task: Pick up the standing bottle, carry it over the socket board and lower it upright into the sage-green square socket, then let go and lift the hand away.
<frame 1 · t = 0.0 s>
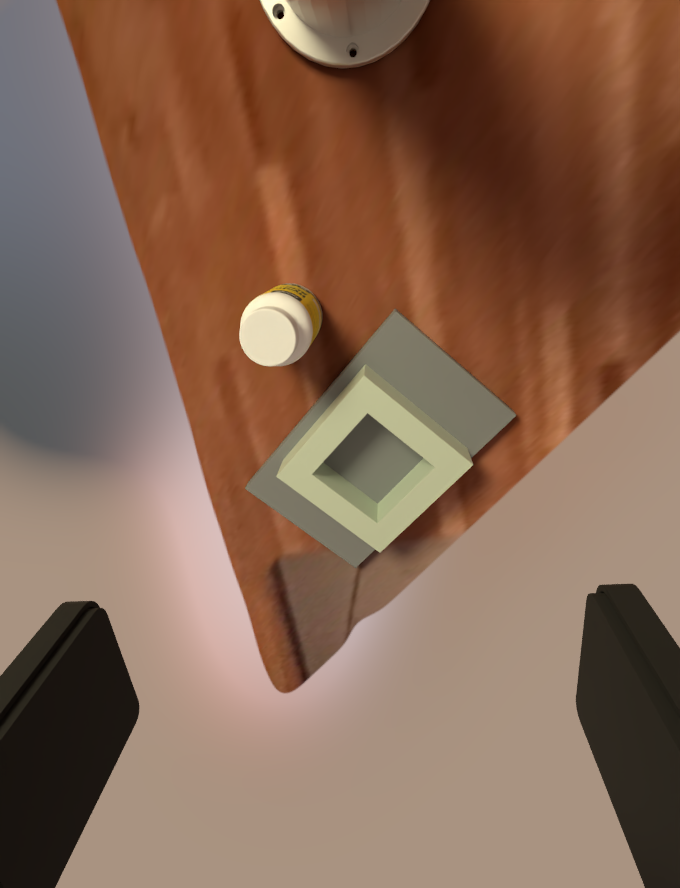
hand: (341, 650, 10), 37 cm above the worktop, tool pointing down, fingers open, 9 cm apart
supplement bottle: (292, 314, 44), on the worktop
socket board: (373, 448, 48), on the worktop
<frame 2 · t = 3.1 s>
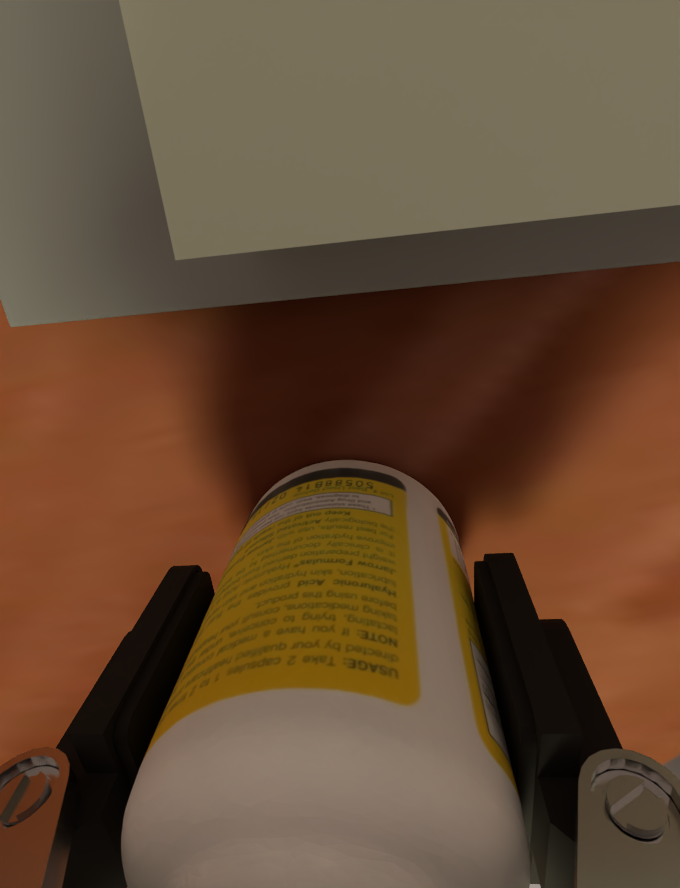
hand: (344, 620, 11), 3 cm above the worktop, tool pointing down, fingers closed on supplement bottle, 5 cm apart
supplement bottle: (351, 545, 13), on the worktop, touching gripper
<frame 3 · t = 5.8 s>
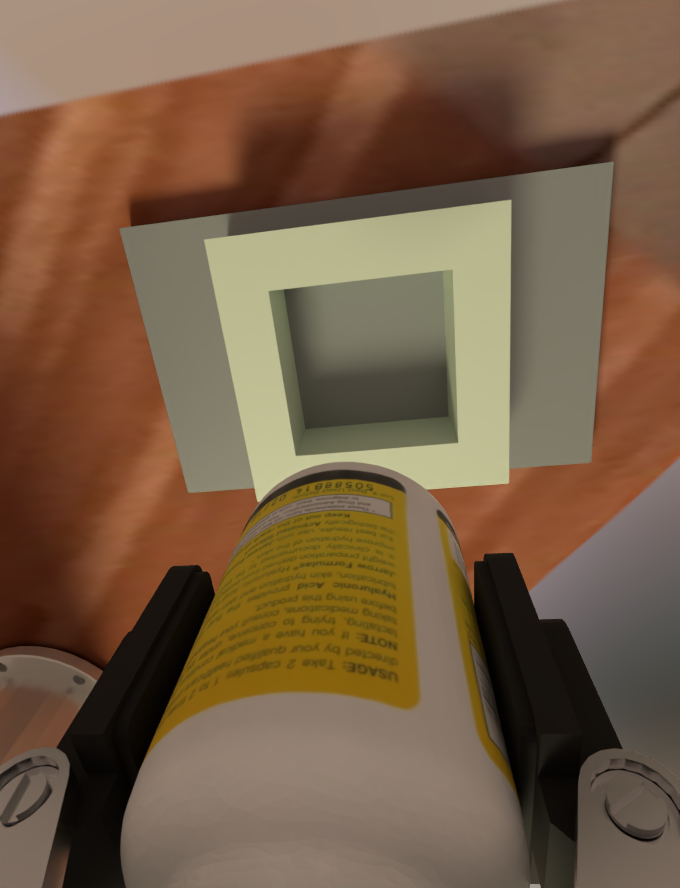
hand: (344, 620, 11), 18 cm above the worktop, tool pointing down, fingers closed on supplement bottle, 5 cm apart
supplement bottle: (351, 546, 13), point 15 cm above the worktop, touching gripper
socket board: (369, 347, 27), on the worktop
when the fingers open (6 cm above the worktop, at t = 8.6 s): supplement bottle drops 2 cm, resting on socket board.
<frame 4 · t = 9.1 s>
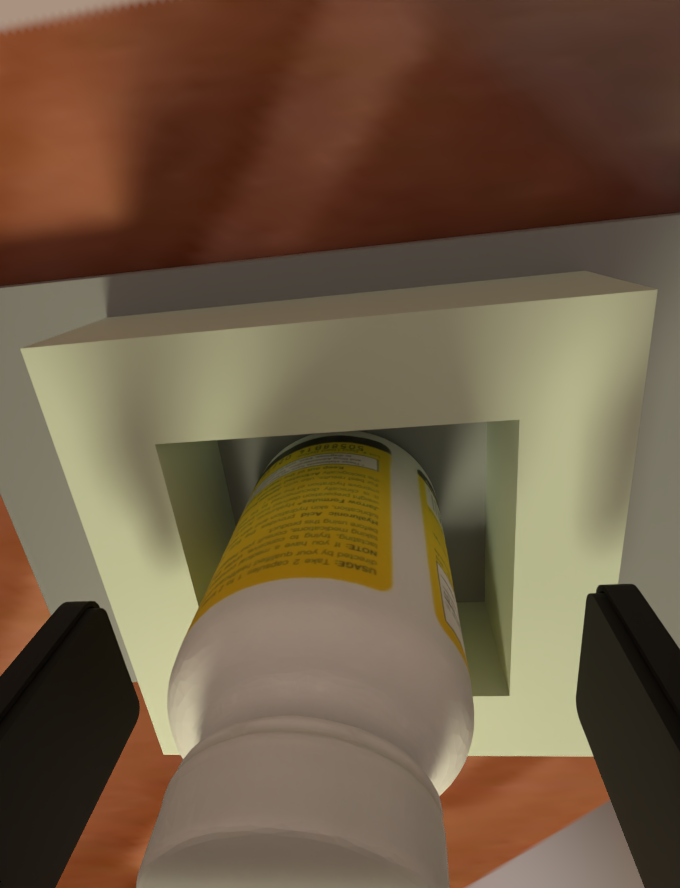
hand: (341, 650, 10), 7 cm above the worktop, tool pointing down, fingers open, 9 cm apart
supplement bottle: (346, 506, 15), point 1 cm above the worktop, touching socket board
socket board: (357, 485, 16), on the worktop
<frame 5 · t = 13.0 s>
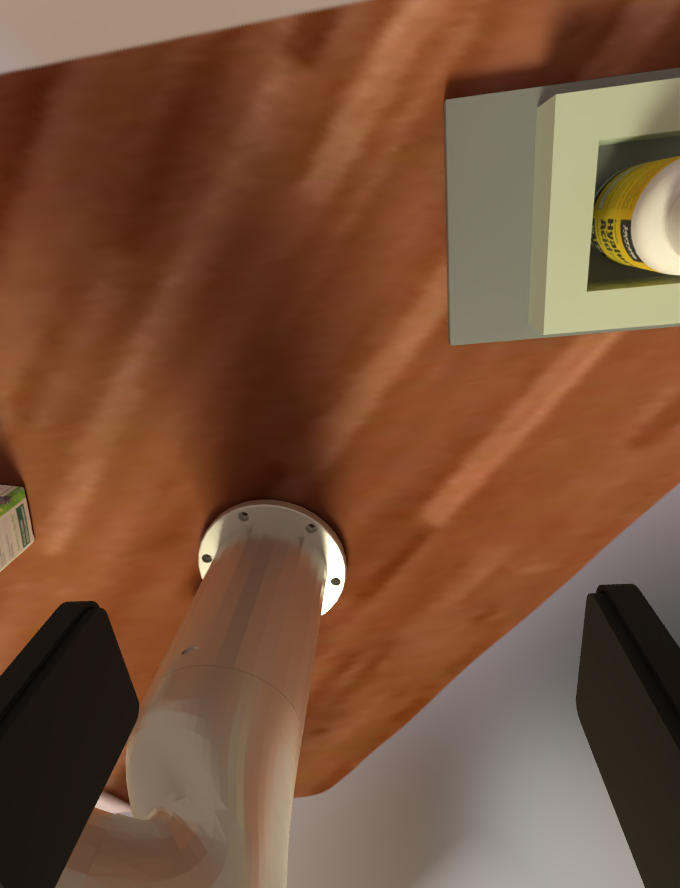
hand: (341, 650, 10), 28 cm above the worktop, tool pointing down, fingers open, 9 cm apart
supplement bottle: (629, 216, 31), point 1 cm above the worktop, touching socket board
socket board: (628, 212, 32), on the worktop
syrup box: (0, 509, 45), on the worktop
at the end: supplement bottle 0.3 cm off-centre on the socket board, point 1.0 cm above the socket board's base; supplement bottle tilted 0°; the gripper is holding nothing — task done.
